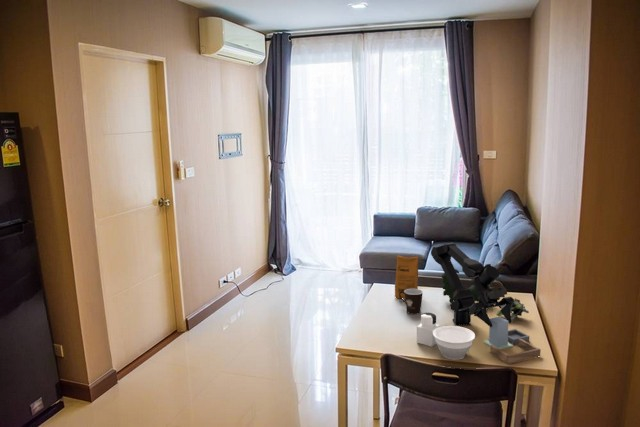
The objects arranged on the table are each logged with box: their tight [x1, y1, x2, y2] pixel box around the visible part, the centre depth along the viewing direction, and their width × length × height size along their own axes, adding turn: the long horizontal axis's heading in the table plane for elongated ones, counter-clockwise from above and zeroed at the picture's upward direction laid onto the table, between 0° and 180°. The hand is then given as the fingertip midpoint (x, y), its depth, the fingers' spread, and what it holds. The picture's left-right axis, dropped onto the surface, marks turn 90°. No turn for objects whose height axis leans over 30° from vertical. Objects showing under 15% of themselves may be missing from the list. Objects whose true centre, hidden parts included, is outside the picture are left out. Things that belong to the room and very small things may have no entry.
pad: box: [483, 339, 514, 350], centre depth 199 cm, size 8×8×1 cm
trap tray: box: [508, 328, 530, 346], centre depth 203 cm, size 8×8×2 cm
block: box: [488, 316, 509, 347], centre depth 198 cm, size 5×5×10 cm
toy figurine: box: [441, 268, 497, 304], centre depth 242 cm, size 9×19×25 cm
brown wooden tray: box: [489, 339, 542, 365], centre depth 189 cm, size 10×15×3 cm
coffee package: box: [394, 255, 419, 300], centre depth 255 cm, size 10×12×22 cm
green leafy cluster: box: [496, 297, 530, 321], centre depth 223 cm, size 11×11×12 cm
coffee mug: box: [399, 288, 424, 315], centre depth 237 cm, size 12×9×10 cm
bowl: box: [433, 325, 476, 361], centre depth 191 cm, size 16×16×8 cm
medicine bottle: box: [416, 312, 441, 348], centre depth 202 cm, size 7×7×12 cm
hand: (501, 324), depth 196 cm, fingers open, 9 cm apart
